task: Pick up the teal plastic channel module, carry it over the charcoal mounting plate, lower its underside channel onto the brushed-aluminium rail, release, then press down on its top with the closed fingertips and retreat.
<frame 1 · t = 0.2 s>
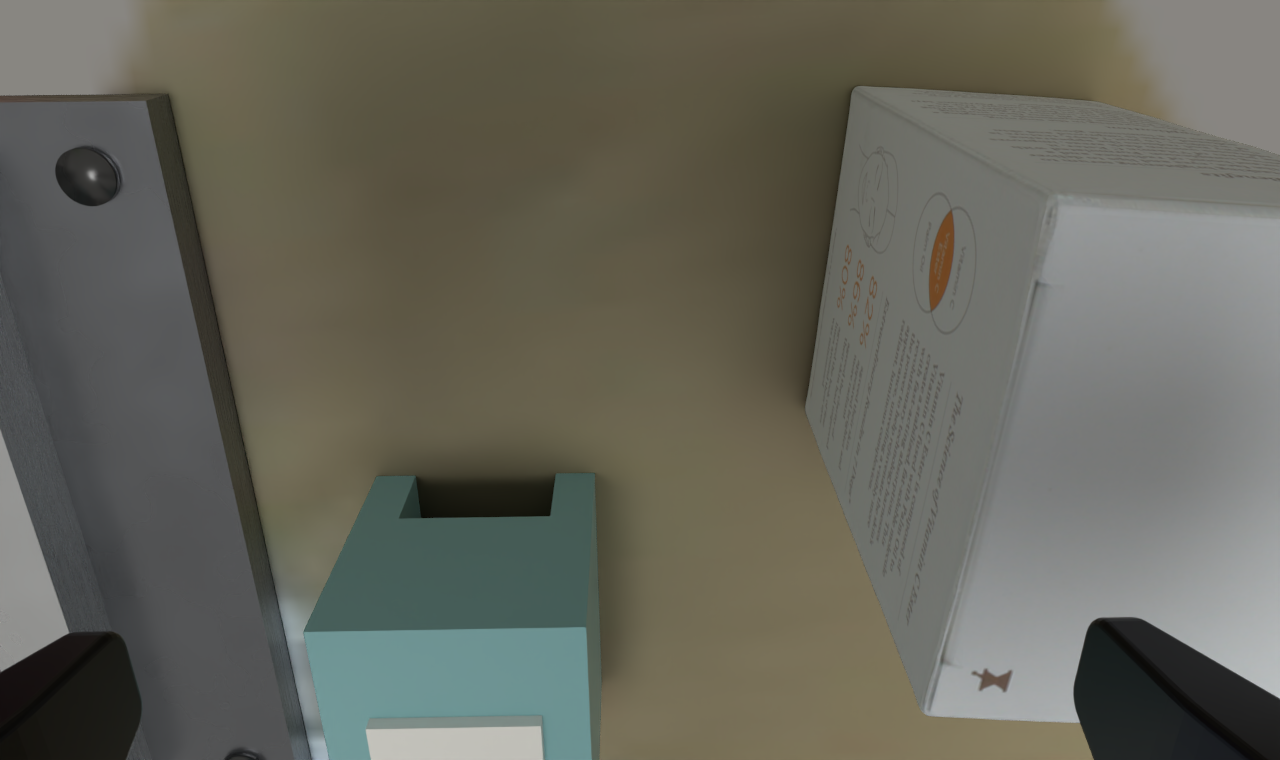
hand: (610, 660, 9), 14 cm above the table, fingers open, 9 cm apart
module: (495, 584, 25), on the table
small box: (936, 261, 22), on the table
mounting plate: (59, 498, 24), on the table
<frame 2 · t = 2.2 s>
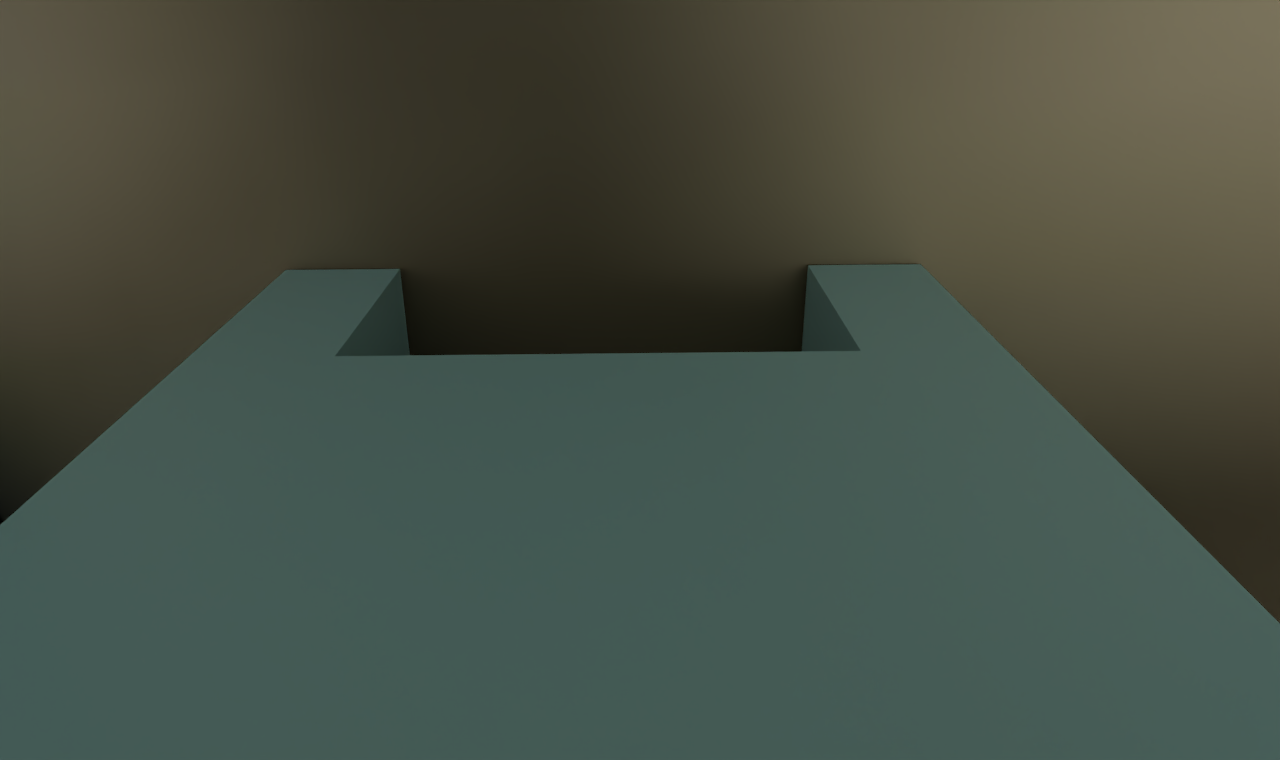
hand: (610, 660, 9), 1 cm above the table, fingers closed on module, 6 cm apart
module: (611, 591, 10), on the table, touching gripper
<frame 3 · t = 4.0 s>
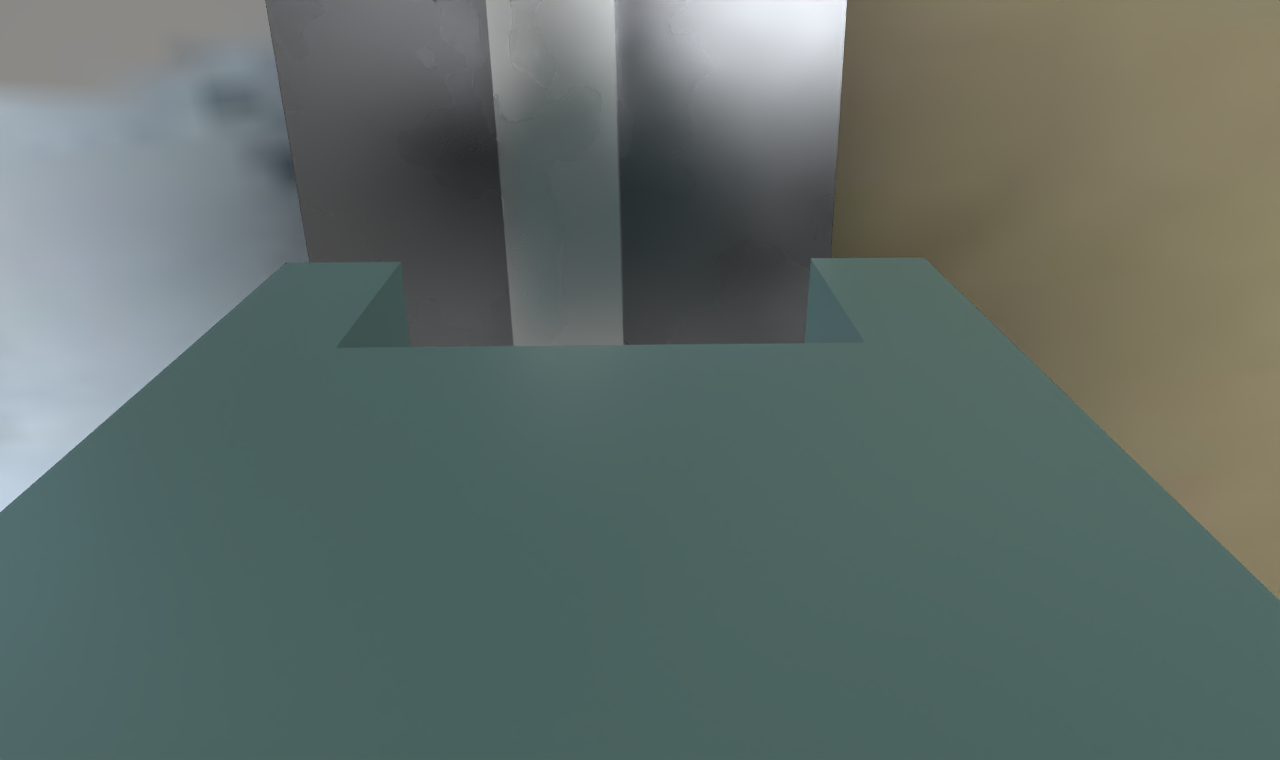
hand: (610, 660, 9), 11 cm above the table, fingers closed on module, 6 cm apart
module: (612, 587, 10), point 10 cm above the table, touching gripper
mounting plate: (575, 292, 19), on the table
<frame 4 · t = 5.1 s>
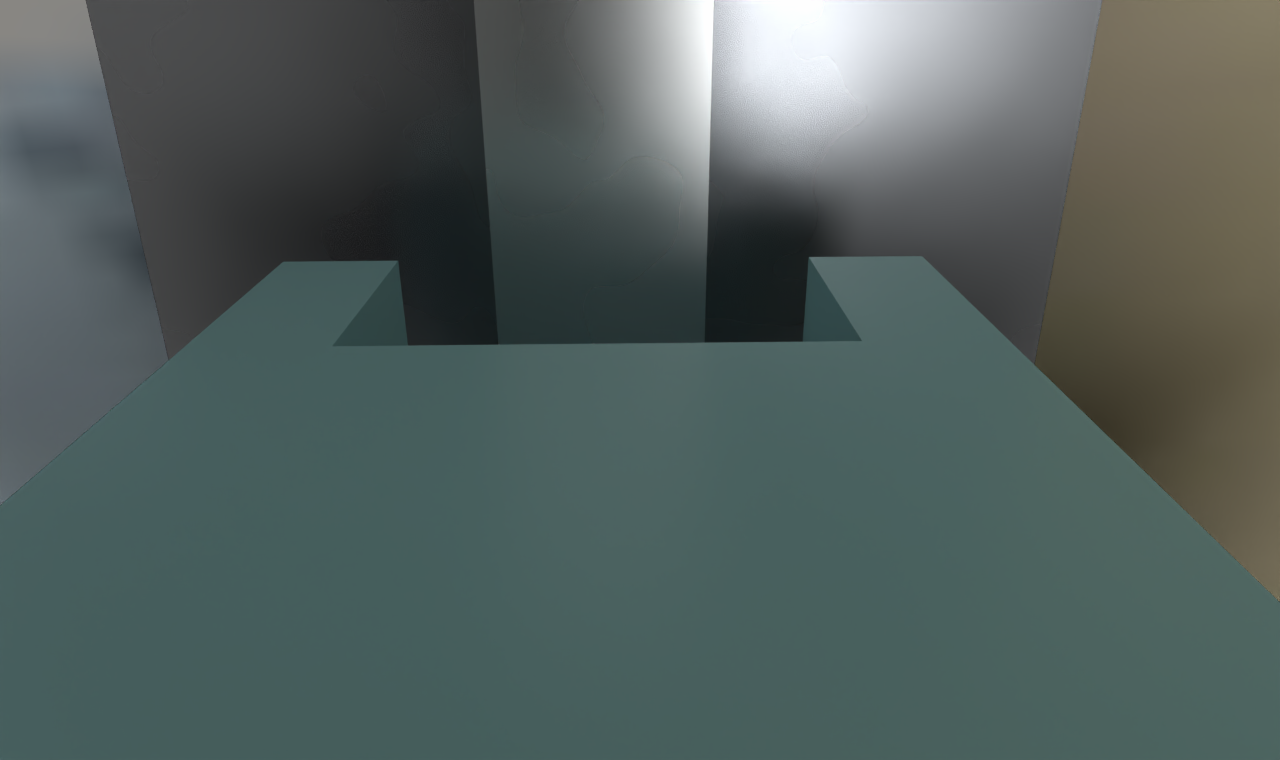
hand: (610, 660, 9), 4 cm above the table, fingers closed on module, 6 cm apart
module: (610, 586, 10), point 3 cm above the table, touching gripper
mounting plate: (609, 449, 12), on the table
when the fingers open (3 cm above the table, at t = 5.8 s): module stays where it is, resting on mounting plate.
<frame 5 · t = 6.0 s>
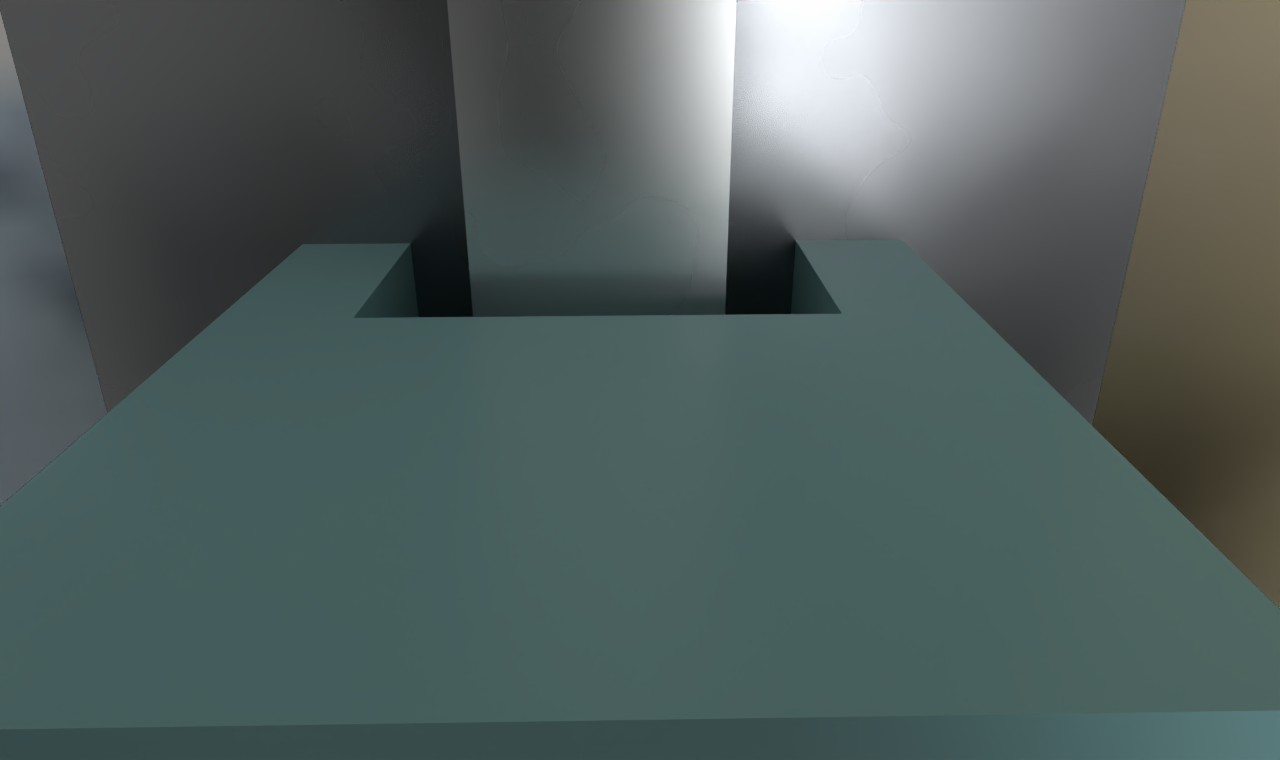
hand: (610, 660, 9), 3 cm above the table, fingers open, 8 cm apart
module: (609, 554, 10), point 1 cm above the table, touching mounting plate
mounting plate: (610, 509, 11), on the table
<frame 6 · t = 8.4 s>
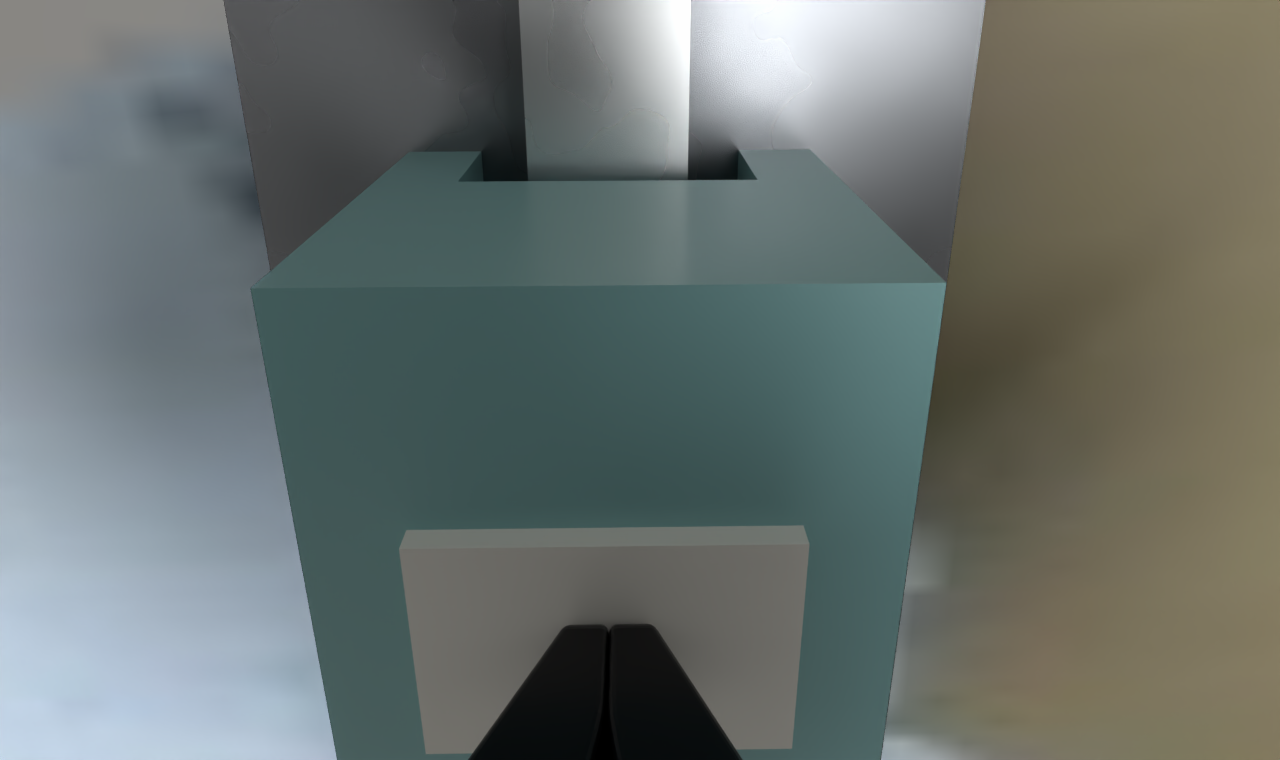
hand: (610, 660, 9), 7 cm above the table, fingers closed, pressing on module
module: (613, 379, 14), point 1 cm above the table, touching gripper, mounting plate
mounting plate: (614, 357, 15), on the table
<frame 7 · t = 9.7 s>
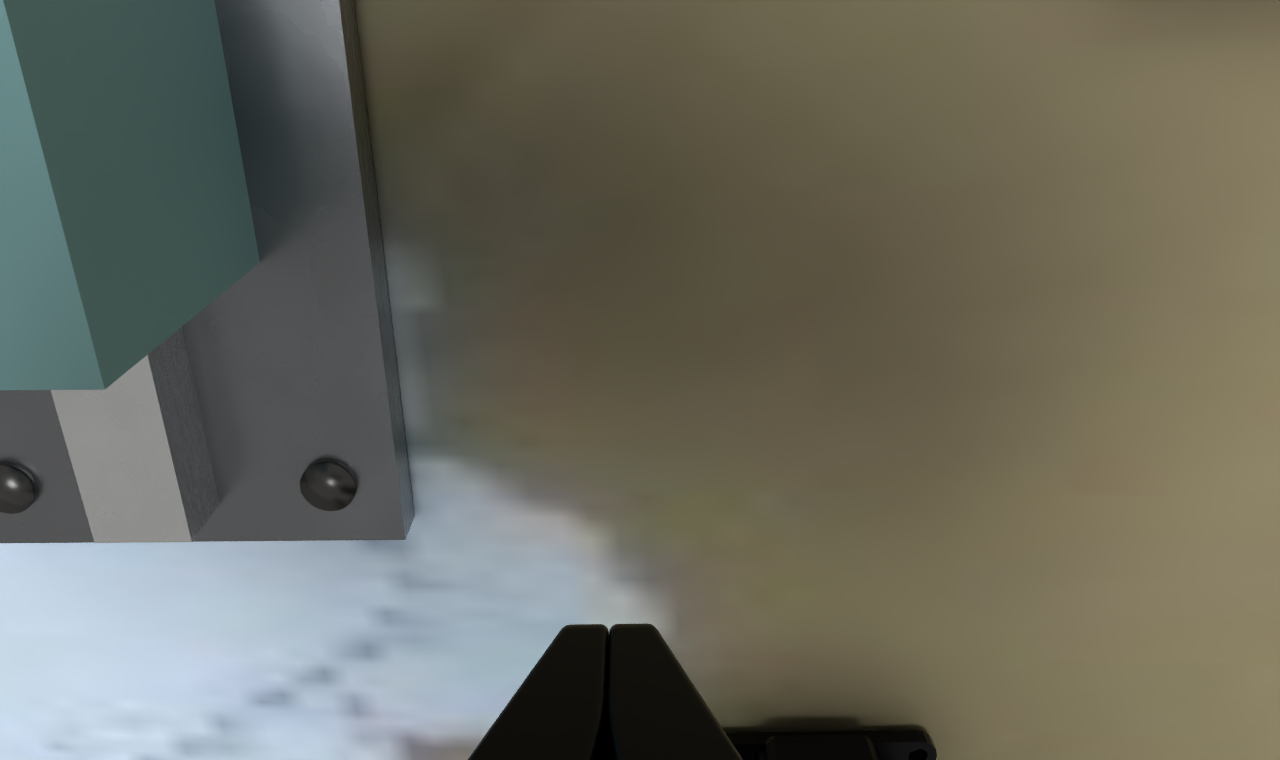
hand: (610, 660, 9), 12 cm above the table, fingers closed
module: (73, 77, 17), point 1 cm above the table, touching mounting plate
mounting plate: (101, 74, 18), on the table
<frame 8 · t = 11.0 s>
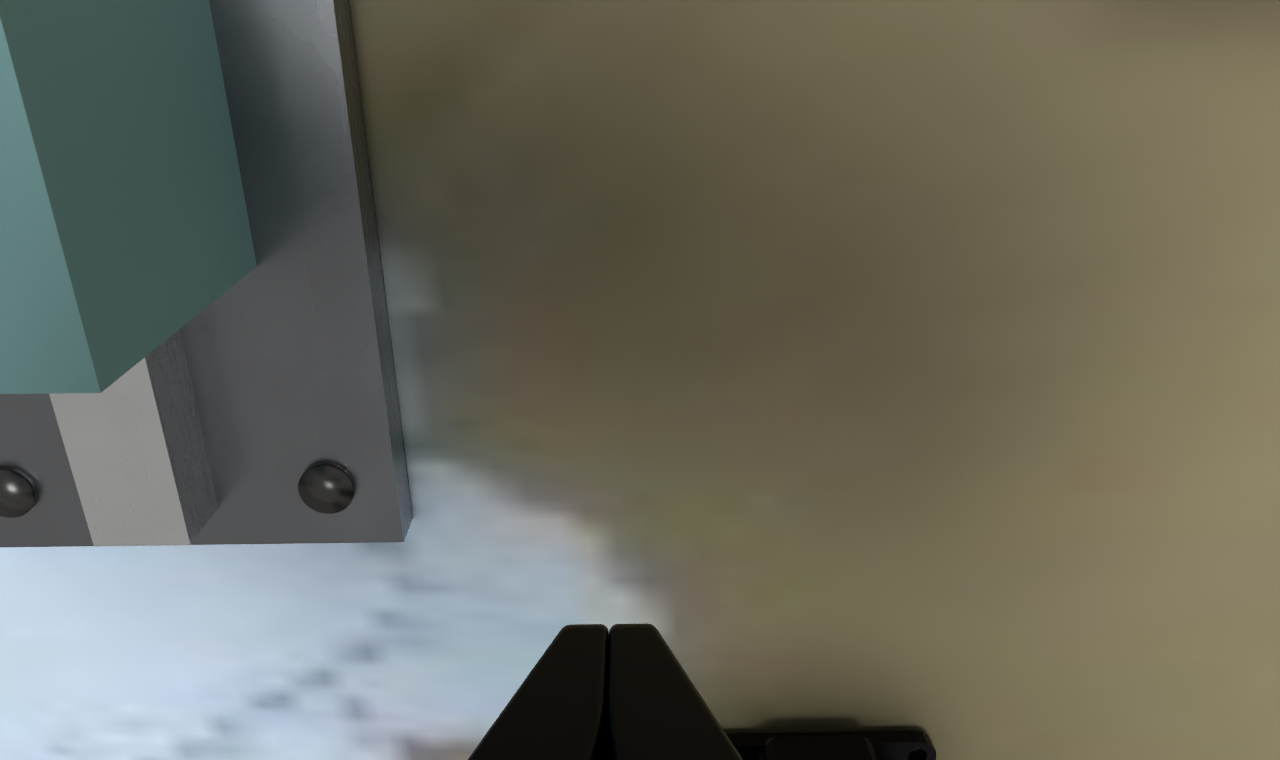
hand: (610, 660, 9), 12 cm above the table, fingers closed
module: (70, 83, 17), point 1 cm above the table, touching mounting plate
mounting plate: (99, 80, 18), on the table
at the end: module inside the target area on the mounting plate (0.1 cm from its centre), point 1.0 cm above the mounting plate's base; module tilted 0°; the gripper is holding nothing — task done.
